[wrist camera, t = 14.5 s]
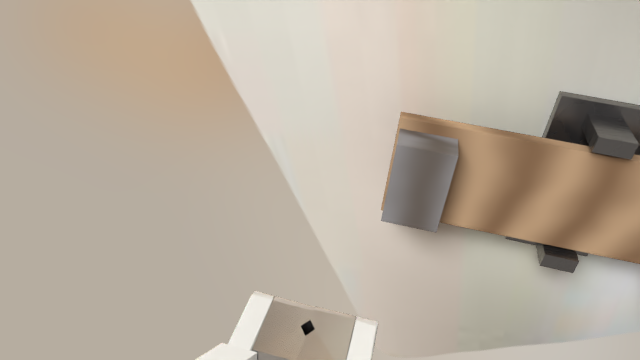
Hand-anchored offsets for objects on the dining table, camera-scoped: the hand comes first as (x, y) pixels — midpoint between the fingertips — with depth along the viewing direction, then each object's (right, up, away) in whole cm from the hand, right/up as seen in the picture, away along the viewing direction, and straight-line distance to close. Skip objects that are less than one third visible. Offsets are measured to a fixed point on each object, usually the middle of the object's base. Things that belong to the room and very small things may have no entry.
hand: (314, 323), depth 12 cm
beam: (+23, +2, +33) cm, 40 cm away
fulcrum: (+24, +4, +36) cm, 44 cm away
